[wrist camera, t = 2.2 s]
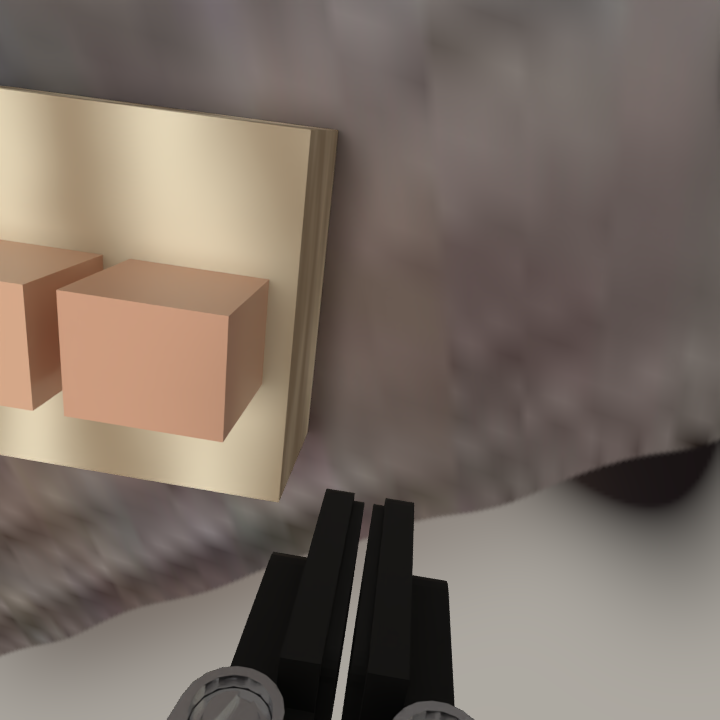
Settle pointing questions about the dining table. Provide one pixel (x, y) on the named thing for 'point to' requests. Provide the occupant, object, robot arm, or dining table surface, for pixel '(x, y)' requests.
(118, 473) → the plate
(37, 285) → the block
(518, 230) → the dining table surface
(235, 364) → the block
